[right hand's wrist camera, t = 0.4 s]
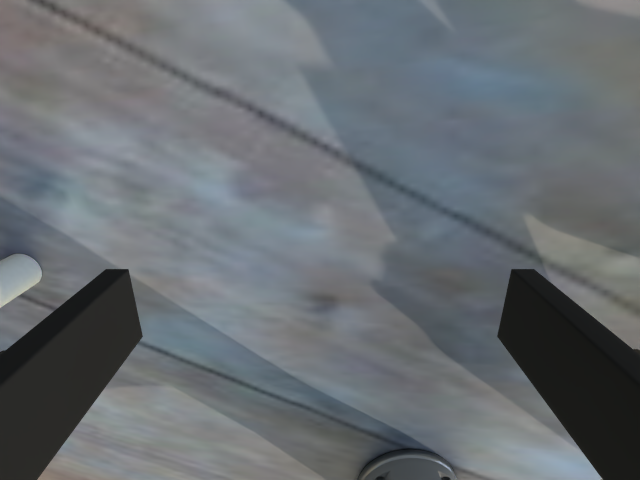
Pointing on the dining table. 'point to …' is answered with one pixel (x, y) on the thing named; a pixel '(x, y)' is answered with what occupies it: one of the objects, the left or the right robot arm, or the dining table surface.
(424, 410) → the dining table surface
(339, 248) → the dining table surface
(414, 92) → the dining table surface
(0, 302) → the white cylinder
